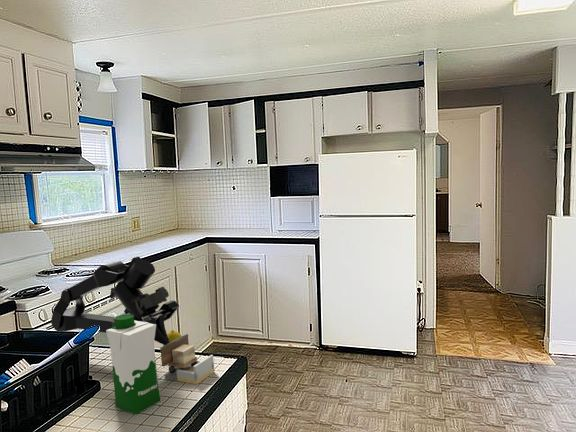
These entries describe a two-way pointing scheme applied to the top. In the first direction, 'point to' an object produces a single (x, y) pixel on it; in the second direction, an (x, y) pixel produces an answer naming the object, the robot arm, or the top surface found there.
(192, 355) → the trolley
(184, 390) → the top surface
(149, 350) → the milk carton
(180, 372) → the dock
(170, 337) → the lemon
